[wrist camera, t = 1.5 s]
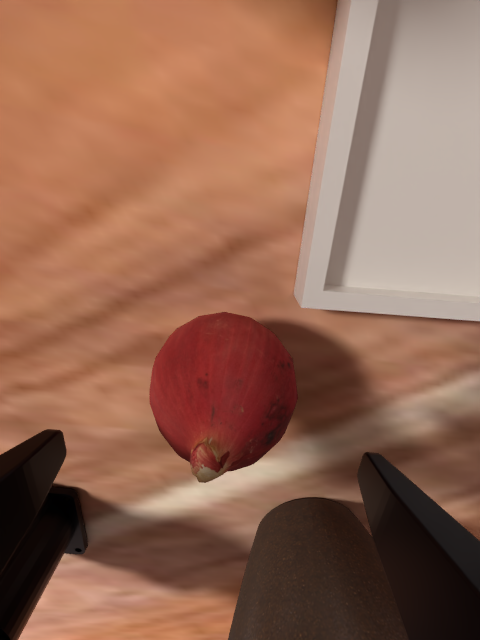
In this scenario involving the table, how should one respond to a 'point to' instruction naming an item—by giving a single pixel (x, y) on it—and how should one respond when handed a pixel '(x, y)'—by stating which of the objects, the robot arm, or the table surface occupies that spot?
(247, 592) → the plant pot
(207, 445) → the onion
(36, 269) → the table surface
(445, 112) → the dish
